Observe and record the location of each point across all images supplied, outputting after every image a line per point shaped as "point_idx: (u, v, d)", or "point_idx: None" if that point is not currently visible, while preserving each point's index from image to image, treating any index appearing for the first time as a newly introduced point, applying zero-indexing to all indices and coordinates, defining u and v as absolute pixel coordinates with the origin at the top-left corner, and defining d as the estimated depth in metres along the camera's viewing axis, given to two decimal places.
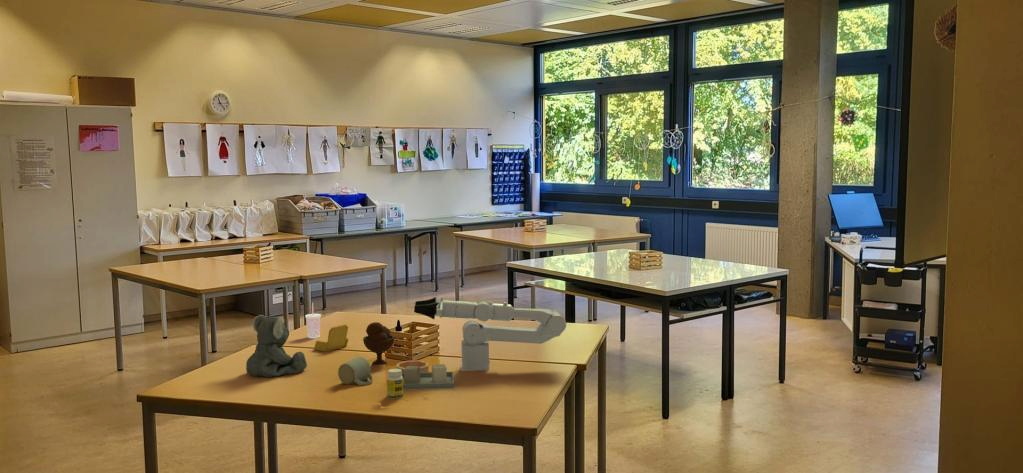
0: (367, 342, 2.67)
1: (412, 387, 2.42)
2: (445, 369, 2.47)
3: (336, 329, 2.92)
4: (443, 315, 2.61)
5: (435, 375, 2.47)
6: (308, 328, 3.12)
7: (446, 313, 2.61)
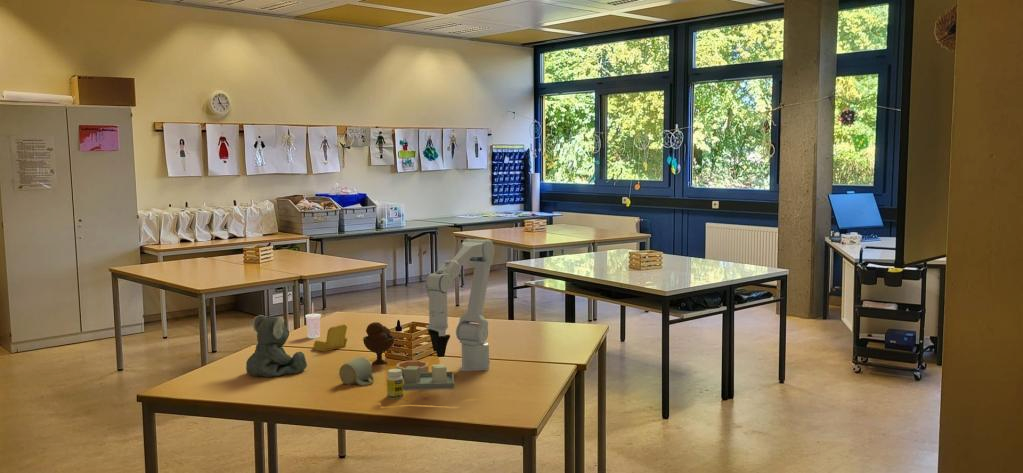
0: (367, 342, 2.67)
1: (412, 387, 2.42)
2: (445, 369, 2.47)
3: (335, 329, 2.92)
4: (445, 324, 2.46)
5: (435, 375, 2.47)
6: (308, 328, 3.12)
7: (443, 321, 2.45)
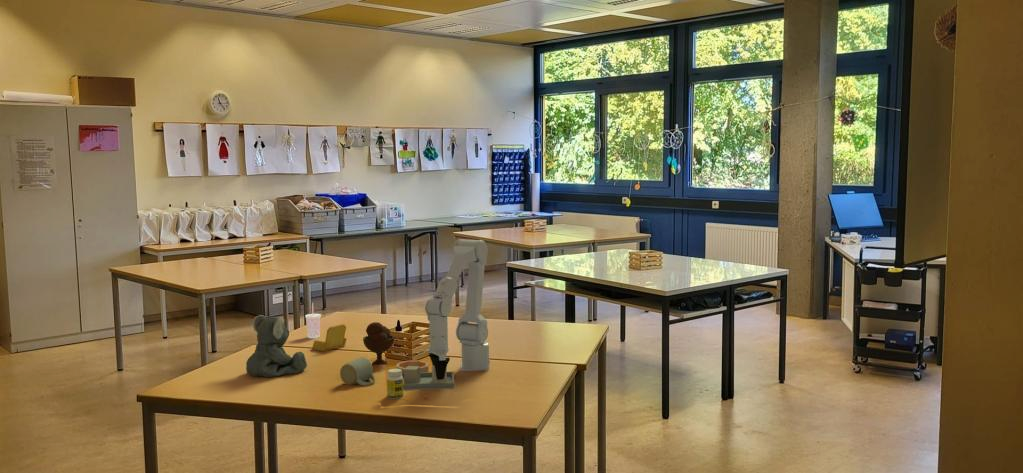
0: (367, 342, 2.67)
1: (412, 387, 2.42)
2: None
3: (334, 329, 2.93)
4: (445, 348, 2.47)
5: (435, 375, 2.47)
6: (308, 328, 3.12)
7: (443, 345, 2.46)
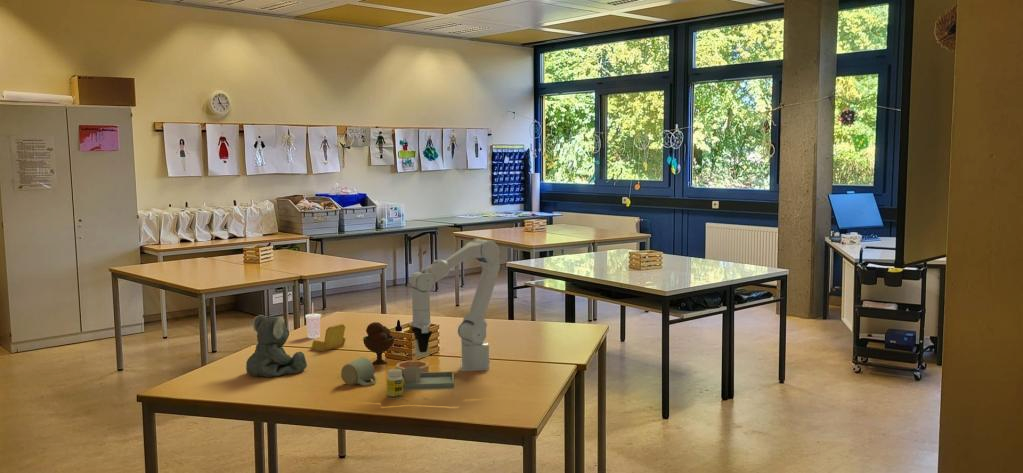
0: (367, 342, 2.67)
1: (412, 387, 2.42)
2: None
3: (333, 329, 2.93)
4: (428, 321, 2.53)
5: (417, 349, 2.53)
6: (308, 328, 3.12)
7: (426, 319, 2.52)
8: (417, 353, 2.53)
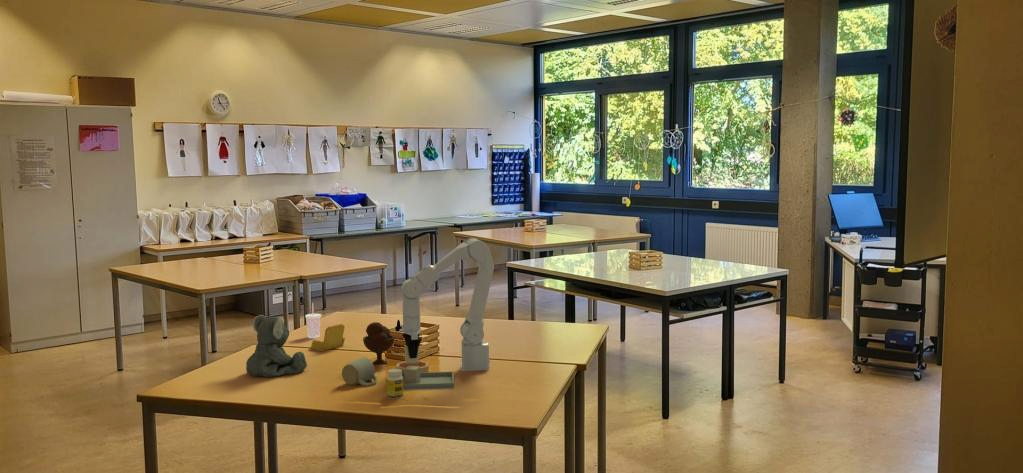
0: (367, 342, 2.67)
1: (412, 387, 2.42)
2: None
3: (332, 328, 2.93)
4: (418, 328, 2.57)
5: (407, 355, 2.57)
6: (308, 328, 3.12)
7: (416, 326, 2.57)
8: (407, 359, 2.58)
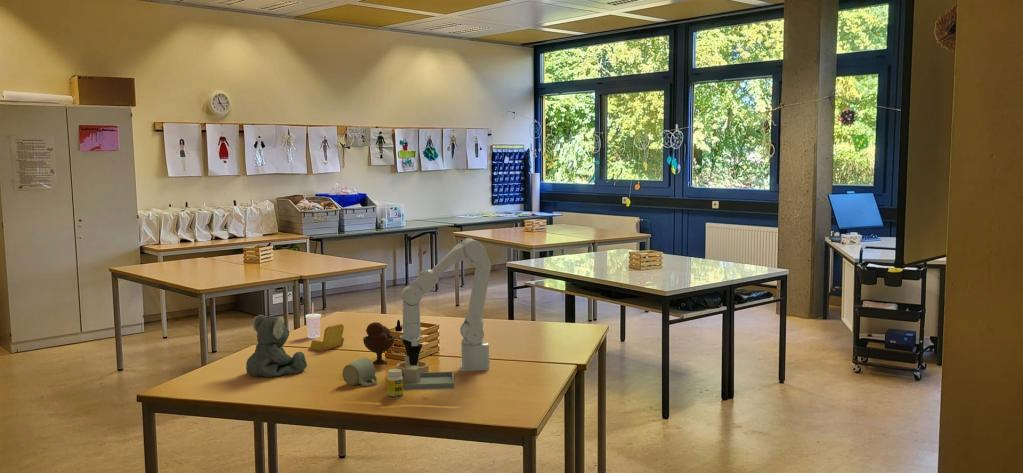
0: (367, 342, 2.67)
1: (412, 387, 2.42)
2: None
3: (332, 328, 2.93)
4: (418, 334, 2.58)
5: (408, 365, 2.58)
6: (308, 328, 3.12)
7: (416, 332, 2.57)
8: None
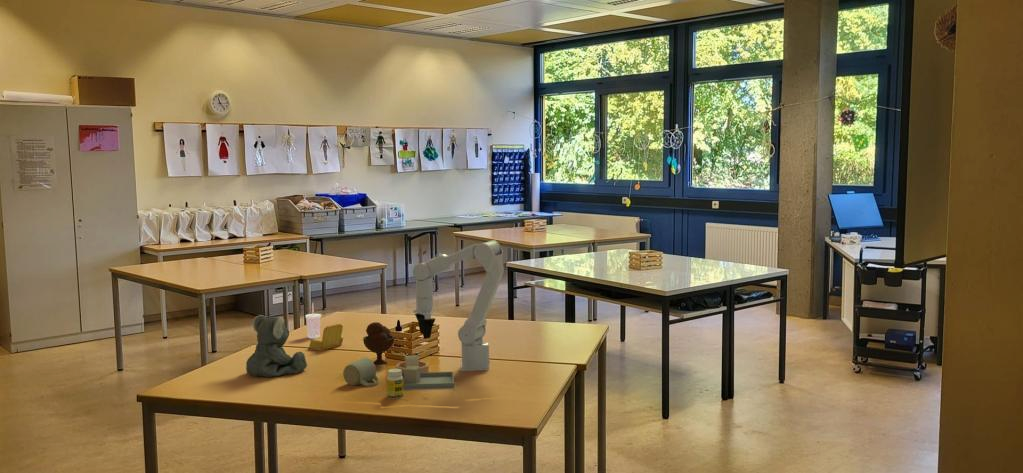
0: (367, 342, 2.67)
1: (412, 387, 2.42)
2: (417, 360, 2.58)
3: (331, 328, 2.94)
4: (431, 308, 2.69)
5: (408, 365, 2.58)
6: (308, 328, 3.12)
7: (429, 306, 2.68)
8: None
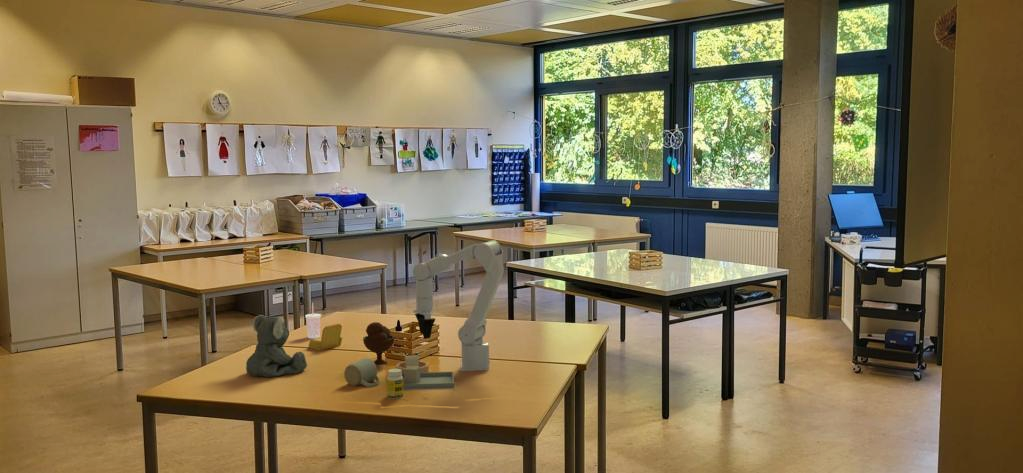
0: (367, 342, 2.67)
1: (412, 387, 2.42)
2: (417, 360, 2.58)
3: (330, 328, 2.94)
4: (431, 308, 2.69)
5: (408, 365, 2.58)
6: (308, 328, 3.12)
7: (429, 306, 2.68)
8: None
